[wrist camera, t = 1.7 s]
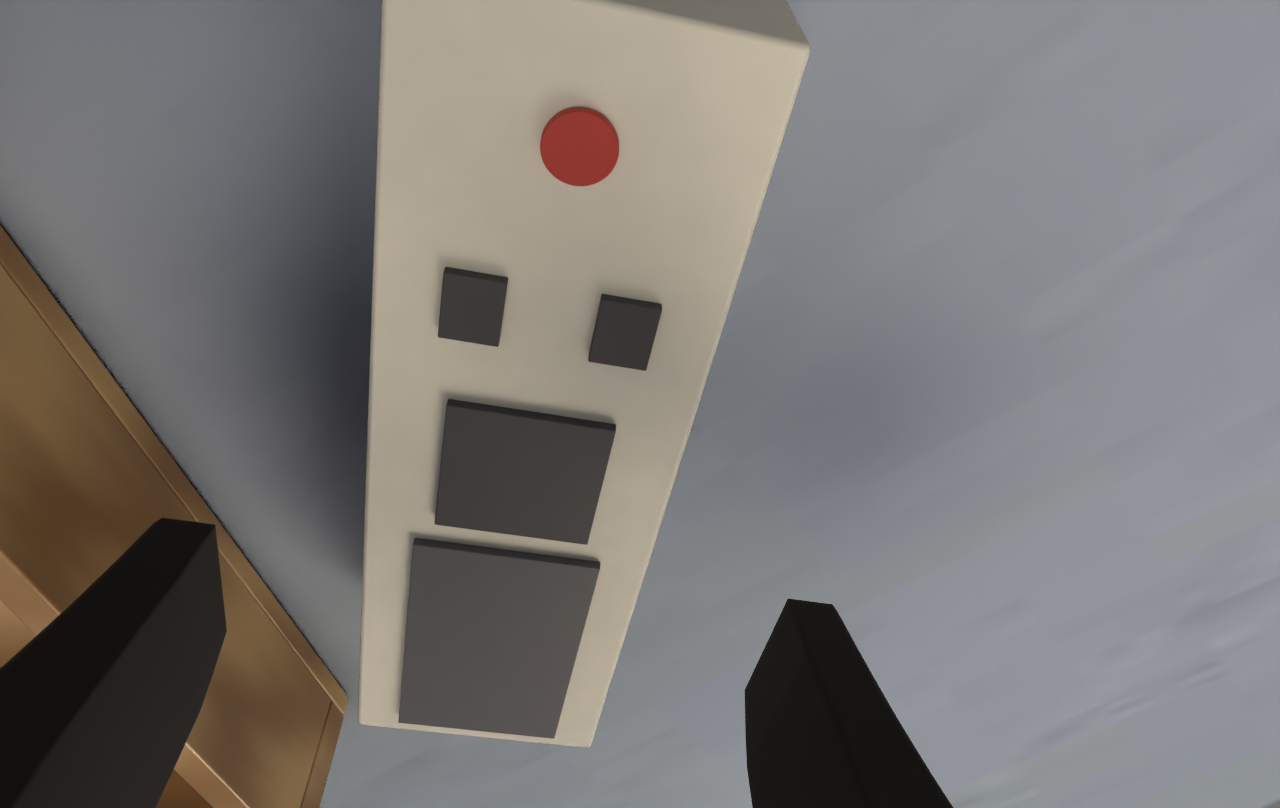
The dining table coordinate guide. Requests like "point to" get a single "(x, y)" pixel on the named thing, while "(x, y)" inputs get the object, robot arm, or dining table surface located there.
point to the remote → (545, 331)
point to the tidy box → (109, 524)
